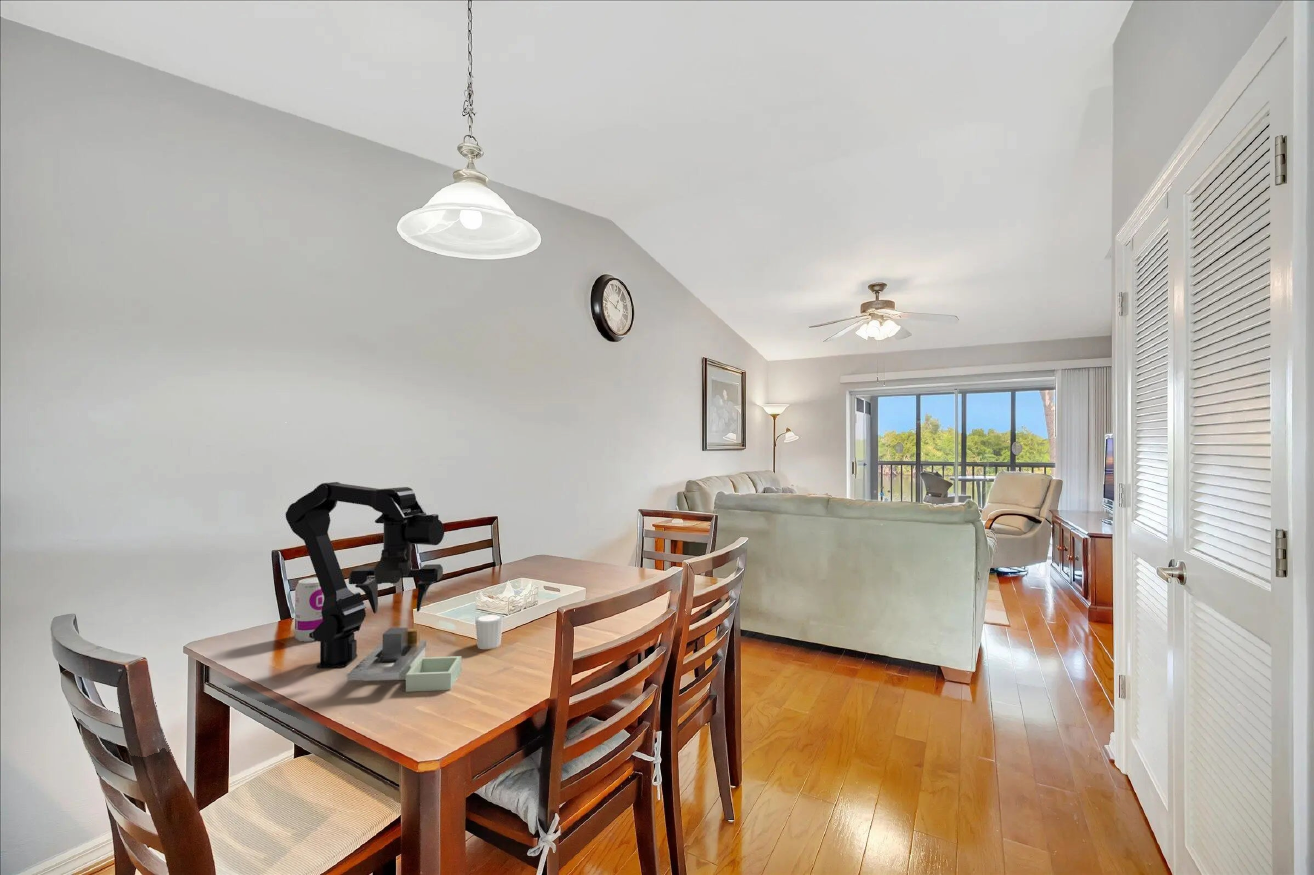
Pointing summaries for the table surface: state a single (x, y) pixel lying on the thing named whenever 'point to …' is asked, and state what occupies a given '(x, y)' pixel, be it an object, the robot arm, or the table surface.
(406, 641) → the peg
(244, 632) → the table surface
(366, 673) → the plate
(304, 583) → the supplement can
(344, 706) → the table surface
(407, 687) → the open box
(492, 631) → the white cup
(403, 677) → the socket block
